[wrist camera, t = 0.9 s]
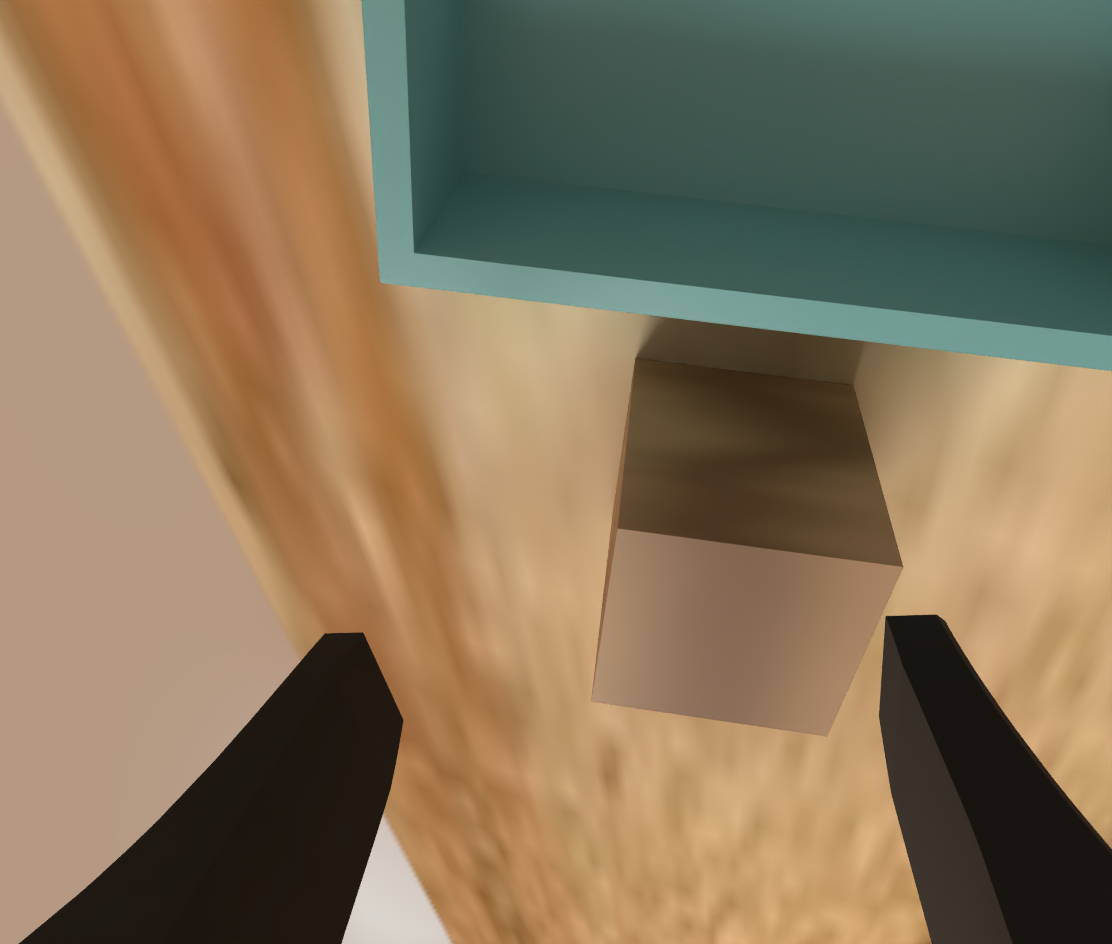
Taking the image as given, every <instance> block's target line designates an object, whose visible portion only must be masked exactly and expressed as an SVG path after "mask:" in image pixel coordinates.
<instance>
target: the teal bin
mask: <svg viewBox="0 0 1112 944" xmlns="http://www.w3.org/2000/svg"><path fill="white" fill-rule="evenodd" d="M362 14H363V29H364V45H365V60H366V75H367V90H368V106H369V121H370V136H371V151H372V167H373V182H374V197H375V212H376V228H377V243H378V258H379V273H380V283H387V284H395V285H404V286H412V287H420V288H429V289H437V290H445V291H453V292H462V293H470V294H478V295H486V296H495V297H503V298H511V299H520V300H528V301H536V302H544V303H553V304H561V305H569V306H578V307H586V308H594V309H602V310H611V311H619V312H627V313H636V314H644V315H652V316H660V317H669V318H677V319H685V320H693V321H702V322H710V323H718V324H727V325H735V326H743V327H751V328H760V329H768V330H776V331H785V332H793V333H801V334H809V335H818V336H826V337H834V338H843V339H851V340H859V341H867V342H876V343H884V344H892V345H900V346H909V347H917V348H925V349H934V350H942V351H950V352H958V353H967V354H975V355H983V356H992V357H1000V358H1008V359H1016V360H1025V361H1033V362H1041V363H1050V364H1058V365H1066V366H1074V367H1083V368H1091V369H1099V370H1107V371H1112V0H362Z"/></svg>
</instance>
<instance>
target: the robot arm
mask: <svg viewBox="0 0 1112 944" xmlns="http://www.w3.org/2000/svg"><path fill="white" fill-rule="evenodd" d="M879 719H880V725H881V732H882V738H883V745H884V751H885V758H886V764H887V770H888V776H889V782H890V788H891V794H892V798H893V801H894V805H895V809H896V813H897V816H898V820H899V824H900V828H901V831H902V835H903V839H904V842H905V846H906V850H907V854H908V857H909V861H910V865H911V868H912V872H913V876H914V879H915V883H916V887H917V890H918V894H919V898H920V901H921V905H922V909H923V912H924V916H925V920H926V923H927V927H928V931H929V934H930V938H931V942H932V944H1112V849H1111V848H1110V847H1109V845H1108V844H1107V843H1106V842H1105V841H1104V840H1103V839H1102V837H1101V836H1100V835H1099V834H1098V833H1097V831H1096V830H1095V829H1094V828H1093V827H1092V825H1091V824H1090V823H1089V822H1088V821H1087V819H1086V818H1085V817H1084V816H1083V815H1082V813H1081V812H1080V811H1079V810H1078V809H1077V808H1076V806H1075V805H1074V804H1073V803H1072V801H1071V800H1070V799H1069V798H1068V796H1067V795H1066V794H1065V793H1064V791H1063V790H1062V789H1061V788H1060V786H1059V785H1058V784H1057V783H1056V781H1055V780H1054V779H1053V778H1052V776H1051V775H1050V774H1049V773H1048V771H1047V770H1046V769H1045V767H1044V766H1043V765H1042V763H1041V762H1040V761H1039V759H1038V758H1037V757H1036V755H1035V754H1034V753H1033V751H1032V750H1031V749H1030V747H1029V746H1028V745H1027V744H1026V742H1025V741H1024V740H1023V738H1022V737H1021V736H1020V734H1019V733H1018V732H1017V730H1016V729H1015V728H1014V726H1013V725H1012V723H1011V722H1010V721H1009V719H1008V718H1007V716H1006V715H1005V714H1004V712H1003V711H1002V709H1001V708H1000V707H999V705H998V704H997V702H996V701H995V699H994V698H993V696H992V695H991V693H990V692H989V691H988V689H987V688H986V686H985V685H984V683H983V682H982V680H981V679H980V677H979V676H978V674H977V673H976V671H975V670H974V668H973V667H972V665H971V663H970V662H969V660H968V659H967V657H966V656H965V654H964V652H963V651H962V649H961V647H960V646H959V644H958V642H957V641H956V639H955V637H954V636H953V634H952V632H951V631H950V629H949V627H948V625H947V623H946V622H945V621H944V620H943V619H942V618H941V617H939V616H938V615H908V616H886V619H885V634H884V649H883V664H882V679H881V694H880V710H879ZM402 725H403V718H402V716H401V714H400V712H399V709H398V707H397V705H396V703H395V701H394V698H393V696H392V694H391V692H390V690H389V688H388V685H387V683H386V681H385V679H384V677H383V675H382V672H381V670H380V668H379V666H378V664H377V662H376V659H375V657H374V655H373V653H372V651H371V649H370V646H369V644H368V642H367V640H366V638H365V636H364V633H363V632H362V633H330V634H324V635H323V636H322V637H321V639H320V640H319V641H318V642H317V643H316V644H315V645H314V646H313V648H312V649H311V650H310V651H309V652H308V653H307V655H306V656H305V657H304V658H303V659H302V660H301V662H300V663H299V664H298V665H297V666H296V668H295V669H294V670H293V671H292V672H291V673H290V674H289V676H288V677H287V678H286V679H285V680H284V682H283V683H282V684H281V685H280V686H279V687H278V689H277V690H276V691H275V692H274V693H273V695H272V696H271V697H270V698H269V699H268V700H267V701H266V703H265V704H264V705H263V706H262V707H261V708H260V710H259V711H258V712H257V713H256V714H255V715H254V717H253V718H252V719H251V720H250V721H249V722H248V724H247V725H246V726H245V727H244V728H243V729H242V730H241V731H240V732H239V734H238V735H237V736H236V737H235V738H234V739H233V740H232V742H231V743H230V744H229V745H228V746H227V747H226V748H225V749H224V751H223V752H222V753H221V754H220V755H219V756H218V758H217V759H216V760H215V761H214V762H213V763H212V764H211V765H210V766H209V767H208V768H207V769H206V771H204V772H203V773H202V775H201V776H200V777H199V778H198V779H197V780H196V781H195V782H194V783H193V784H192V785H191V786H190V787H189V788H188V789H187V791H185V793H184V794H183V795H182V796H181V797H180V798H179V799H178V800H177V801H176V802H175V803H174V804H173V805H172V806H171V807H170V808H169V809H168V810H167V811H166V812H165V814H164V815H163V816H162V817H161V818H160V819H159V820H158V821H157V822H156V823H155V824H154V825H153V826H152V827H151V828H150V829H149V830H148V831H147V832H146V833H145V834H144V835H143V836H141V837H140V838H139V839H138V840H137V841H136V842H135V843H134V844H133V845H132V846H131V847H130V848H129V849H128V850H127V851H126V852H125V853H124V854H122V855H121V856H120V857H119V858H118V859H117V860H116V861H115V862H114V863H113V864H112V865H110V866H109V867H108V868H107V869H106V870H105V871H104V872H103V873H102V874H101V875H100V876H99V877H97V878H96V879H95V880H94V881H93V882H92V883H91V884H90V885H88V886H87V888H85V889H84V890H83V891H82V892H81V893H79V894H78V895H77V896H76V897H75V898H73V899H72V900H71V901H70V902H69V903H68V904H66V905H65V906H64V907H63V908H61V909H60V910H59V911H58V912H57V913H55V914H54V915H53V916H52V917H51V918H49V919H48V920H47V921H46V922H44V923H43V924H42V925H41V926H40V927H38V928H37V929H36V930H35V931H34V932H33V933H31V934H30V935H29V936H28V937H26V938H25V939H24V940H23V941H22V942H20V943H19V944H341V943H342V940H343V937H344V933H345V930H346V927H347V924H348V921H349V918H350V915H351V912H352V909H353V905H354V903H355V899H356V896H357V893H358V890H359V887H360V884H361V881H362V878H363V875H364V872H365V868H366V865H367V862H368V859H369V856H370V853H371V849H372V847H373V844H374V840H375V837H376V834H377V831H378V828H379V824H380V821H381V818H382V815H383V812H384V809H385V806H386V802H387V799H388V796H389V792H390V789H391V784H392V779H393V775H394V770H395V765H396V760H397V754H398V749H399V743H400V737H401V731H402Z"/></svg>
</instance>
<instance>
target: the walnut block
mask: <svg viewBox="0 0 1112 944" xmlns="http://www.w3.org/2000/svg"><path fill="white" fill-rule="evenodd" d="M902 569H903V565H902V561H901V557H900V554H899V550H898V546H897V543H896V539H895V536H894V532H893V528H892V525H891V521H890V517H889V514H888V510H887V506H886V503H885V499H884V496H883V492H882V488H881V485H880V481H879V477H878V474H877V470H876V466H875V463H874V459H873V456H872V452H871V448H870V445H869V441H868V437H867V434H866V430H865V426H864V423H863V419H862V415H861V412H860V408H859V405H858V401H857V397H856V394H855V390H854V386H853V385H847V384H839V383H831V382H822V381H814V380H806V379H798V378H790V377H782V376H774V375H766V374H758V373H750V372H742V371H734V370H726V369H717V368H709V367H701V366H693V365H685V364H677V363H669V362H661V361H653V360H645V359H637V358H635V364H634V371H633V378H632V385H631V392H630V399H629V406H628V413H627V420H626V426H625V433H624V440H623V447H622V454H621V461H620V468H619V475H618V482H617V489H616V495H615V502H614V509H613V516H612V524H611V533H610V542H609V550H608V559H607V568H606V577H605V586H604V594H603V603H602V612H601V621H600V629H599V638H598V647H597V656H596V665H595V673H594V682H593V691H592V700H591V702H597V703H603V704H610V705H617V706H624V707H631V708H637V709H644V710H651V711H658V712H665V713H671V714H678V715H685V716H692V717H698V718H705V719H712V720H719V721H726V722H732V723H739V724H746V725H753V726H760V727H766V728H773V729H780V730H787V731H794V732H800V733H807V734H814V735H821V736H828V734H829V731H830V729H831V727H832V725H833V722H834V720H835V718H836V716H837V713H838V711H839V709H840V707H841V705H842V702H843V700H844V698H845V696H846V693H847V691H848V689H849V687H850V685H851V682H852V680H853V678H854V676H855V673H856V671H857V669H858V667H859V664H860V662H861V660H862V658H863V656H864V653H865V651H866V649H867V647H868V644H869V642H870V640H871V638H872V636H873V633H874V631H875V629H876V627H877V624H878V622H879V620H880V618H881V615H882V613H883V611H884V609H885V607H886V604H887V602H888V600H889V598H890V595H891V593H892V591H893V589H894V587H895V584H896V582H897V580H898V578H899V575H900V573H901V571H902Z"/></svg>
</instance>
